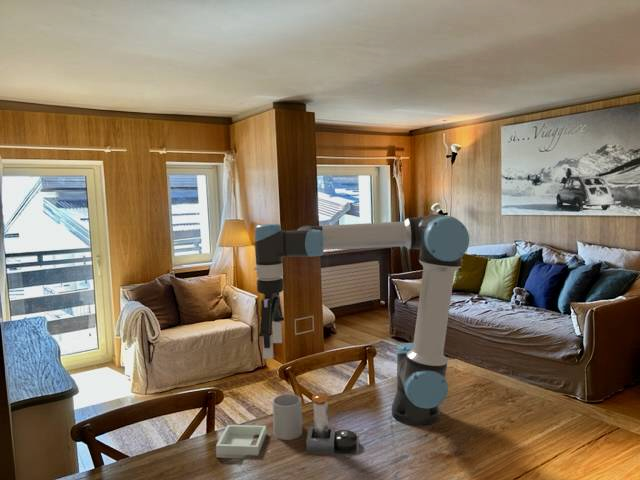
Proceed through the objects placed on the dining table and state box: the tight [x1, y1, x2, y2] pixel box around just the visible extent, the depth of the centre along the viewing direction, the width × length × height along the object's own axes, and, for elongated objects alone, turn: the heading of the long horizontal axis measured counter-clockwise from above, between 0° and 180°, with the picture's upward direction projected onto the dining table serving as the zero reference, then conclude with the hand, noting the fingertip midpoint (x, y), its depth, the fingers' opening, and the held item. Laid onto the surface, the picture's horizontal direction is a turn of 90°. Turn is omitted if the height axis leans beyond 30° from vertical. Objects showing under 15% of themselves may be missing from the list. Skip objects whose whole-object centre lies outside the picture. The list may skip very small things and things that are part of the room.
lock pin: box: [311, 392, 330, 439], centre depth 135 cm, size 5×5×14 cm
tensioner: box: [305, 426, 360, 456], centre depth 135 cm, size 14×10×4 cm
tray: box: [215, 424, 267, 459], centre depth 136 cm, size 12×12×3 cm
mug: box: [272, 393, 303, 441], centre depth 143 cm, size 12×8×11 cm
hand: (273, 350), depth 139 cm, fingers open, 13 cm apart
